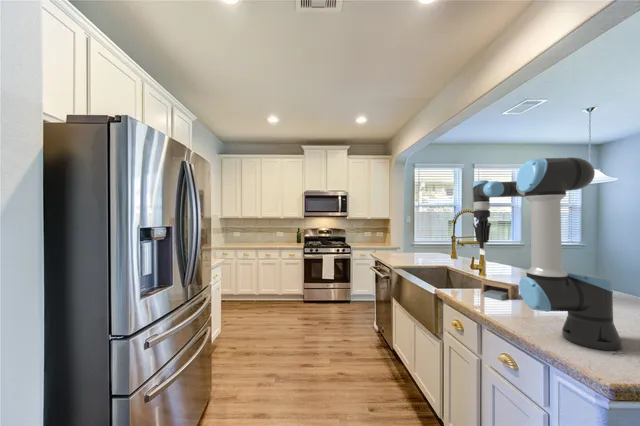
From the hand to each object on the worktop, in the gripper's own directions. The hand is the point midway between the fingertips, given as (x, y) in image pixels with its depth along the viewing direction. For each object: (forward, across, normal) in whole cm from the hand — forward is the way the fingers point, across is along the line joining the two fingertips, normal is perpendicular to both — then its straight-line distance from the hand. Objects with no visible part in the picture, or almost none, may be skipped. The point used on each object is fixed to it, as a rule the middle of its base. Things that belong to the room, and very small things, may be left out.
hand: (483, 254), depth 150 cm
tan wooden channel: (+24, +15, 0) cm, 28 cm away
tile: (+24, +12, -1) cm, 27 cm away
